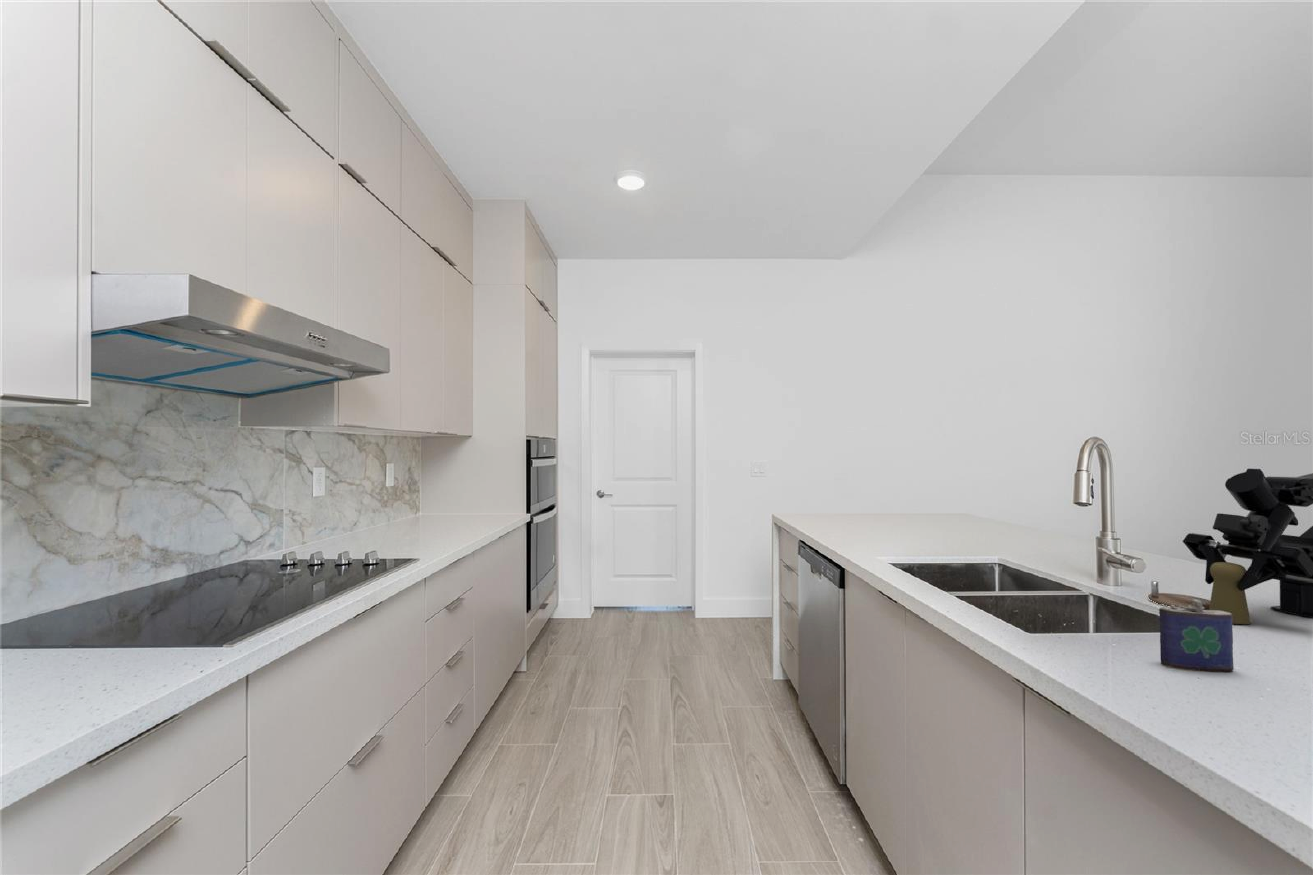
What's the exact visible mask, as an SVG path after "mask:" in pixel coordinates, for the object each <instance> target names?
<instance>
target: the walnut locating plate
mask: <svg viewBox="0 0 1313 875" xmlns="http://www.w3.org/2000/svg"><path fill="white" fill-rule="evenodd" d="M1150 584H1151V589H1150V592H1151V593H1149V594H1148V595H1147V596H1148V597H1147V598H1149V599H1150V600H1152V601H1154V602H1156V603H1158V604H1157V605H1159V604H1164V605H1167V606H1170V607H1171V605H1174V606H1175V607H1180V606H1184V607H1187V606H1188V605H1191V604H1192V603H1193V601H1192V600H1193V599H1195V600H1200V601H1201V602H1202V606H1203V607H1204V610H1209V606H1210V600H1211V599H1210V600H1209V599H1206V598H1203V597H1198V596H1192V595H1188V594H1187V595H1186V594H1179V593H1178V594H1177V593H1168V592H1167V593H1166V592H1159V581H1156V580H1152V581H1151V582H1150ZM1156 603H1155V604H1156ZM1203 603H1205V604H1203ZM1167 606H1166V607H1167ZM1180 608H1182V607H1180ZM1184 609H1185V608H1184Z"/></svg>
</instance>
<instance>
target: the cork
mask: <svg viewBox="0 0 1313 875" xmlns="http://www.w3.org/2000/svg"><path fill="white" fill-rule="evenodd" d="M1246 571H1247V569H1246V568H1245V566H1243V565H1241V564H1237V563H1236V562H1235V563H1233V562H1229V561H1226V562H1216V563H1213V564H1212V565H1211V567H1210V573H1211V575H1212V577H1213V578H1214V582H1213V583H1212V587H1211V588H1212V589H1211V596H1210V606H1209V610H1219V611H1224V612H1228V613H1231V614H1232V615H1233V616H1232V624H1237V625H1238V624H1239V625H1247V624H1248V625H1249V624H1251V622H1252V621H1251V616H1250V611H1249V606H1248V602H1247V601H1248V600H1247V595H1246V591H1245V590H1243V591H1240V590H1239V589H1238V588H1237V586H1238V584H1239V582H1240V580H1241V578H1242V577H1243V575H1244V574H1245V573H1246Z"/></svg>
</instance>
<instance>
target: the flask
mask: <svg viewBox="0 0 1313 875" xmlns="http://www.w3.org/2000/svg"><path fill="white" fill-rule="evenodd" d="M1192 601H1193V603H1192V604H1191V605H1188V606H1187V607H1184V606H1180V607H1182V608H1180V607H1175V606H1174V605H1171V607H1167V606H1164V607H1163V606H1161V607H1160V608H1159V609H1158V613H1159V634H1160V635H1159V643H1160V644H1159V645H1160V648H1159V649H1160V650H1159V652H1160V664H1161V665H1162V664H1163V665H1162V666H1164V667H1165V668H1167V667H1169V668H1173V669H1180V670H1189V671H1205V672H1215V673H1216V672H1217V673H1218V672H1219V673H1221V672H1222V673H1233V671H1234V668H1235V667H1234V650H1233V649H1234V646H1233V644H1234V636H1233V635H1234V633H1233V623H1232V616H1233V615H1232V614H1231V613H1228V612H1224V611H1219V610H1204V607H1203V606H1202V602H1201V601H1200V600H1195V599H1193V600H1192ZM1203 604H1205V603H1203ZM1184 608H1185V609H1184Z"/></svg>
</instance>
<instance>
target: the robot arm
mask: <svg viewBox="0 0 1313 875" xmlns="http://www.w3.org/2000/svg"><path fill="white" fill-rule="evenodd" d="M1224 486H1225V488H1226V490H1227V492H1229V493H1230V495H1231V496H1232V497H1233V499H1234V500H1235V501H1236V503H1237V504H1238V505H1239V507H1240V508H1242V509H1244V510H1246V511H1249V512H1248V514H1247V515H1246V516H1244V515H1239V514H1238V515H1237V514H1230V513H1217V514H1216V517H1215V520H1214V522H1213V526H1212V530H1215V531H1218V532H1220V533H1222V535H1221V537H1222V539H1223V540H1224V541H1227V542H1228V543H1221V542H1219V541H1217V540H1215V539H1214V537H1213V536H1212V535H1211V534H1210V535H1209V534H1208V535H1207V534H1203V533H1202V534H1201V533H1193V532H1191V533H1190V532H1189V533H1187V535H1185V537H1184V538H1183V540H1182V543H1183V544H1184V545H1185V546H1186V547H1187V549H1188V550H1189V551H1190V553H1191V554H1192V555H1193V556H1194V557H1195V558H1196V559H1198V560H1203V561H1205V562H1206V564H1205V565H1206V566H1205V578H1204V581H1205V583H1206V584H1208V585H1211V584H1213V582H1214V578H1213V577H1212V575H1211V573H1210V567H1211V565H1212V564H1213V563H1216V562H1227V561H1226V559H1225V558H1226V557H1227V556H1231V557H1233V558H1239V559H1240V558H1241V559H1247V560H1251V563H1250V565H1249V567H1248V568H1247V569H1246V573H1245V574H1244V575H1243V577H1242V578H1241V580H1240V582H1239V584H1238V586H1237V588H1238V589H1239V590H1240V591H1243V590H1248V589H1250V588H1252V587H1253V588H1254V587H1255V586H1258V585H1260V584H1262V583H1265V582H1267V581H1271V580H1276V581H1279V605H1273V606H1270V610H1274V611H1278V612H1284V613H1288V614H1292V615H1296V616H1302V617H1306V618H1311V619H1312V618H1313V525H1312V526H1310V527H1309V528H1308V529H1307V530H1305V531H1304V532H1303V533H1302V534H1300V535H1291V534H1290V535H1288V534H1284V532H1285V531H1286V529H1287V528H1288V526H1295V527H1297V526H1299V519H1298V518H1297V517H1296V515H1295V514H1296V513H1295V512H1294V511H1293V510H1292V508H1291V507H1301V508H1307V507H1309V506H1312V505H1313V472H1312V473H1307V474H1304V475H1301V476H1300V475H1299V476H1265V474H1264V472H1263V471H1262V470H1261V469H1260V468H1247V469H1246V471H1243V472H1240V473H1236V474H1235V475H1233V476H1231V477H1229V478H1228V479H1227V480H1225V483H1224Z"/></svg>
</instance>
